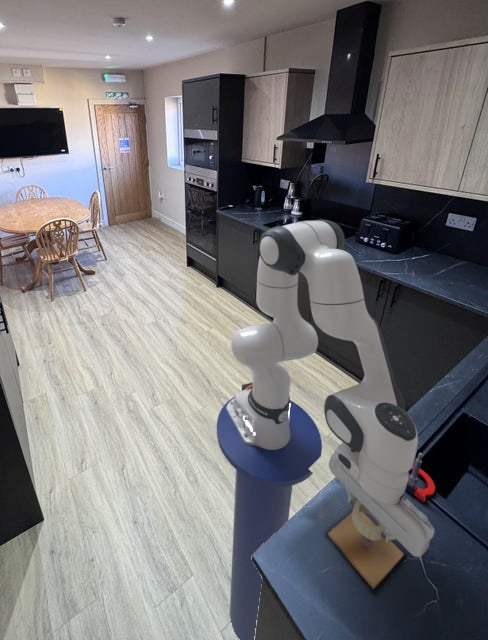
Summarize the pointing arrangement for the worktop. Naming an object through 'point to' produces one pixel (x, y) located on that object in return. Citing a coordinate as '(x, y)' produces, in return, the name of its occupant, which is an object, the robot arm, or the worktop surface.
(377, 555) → the peg stand
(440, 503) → the worktop surface
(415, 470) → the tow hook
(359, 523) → the tape roll
